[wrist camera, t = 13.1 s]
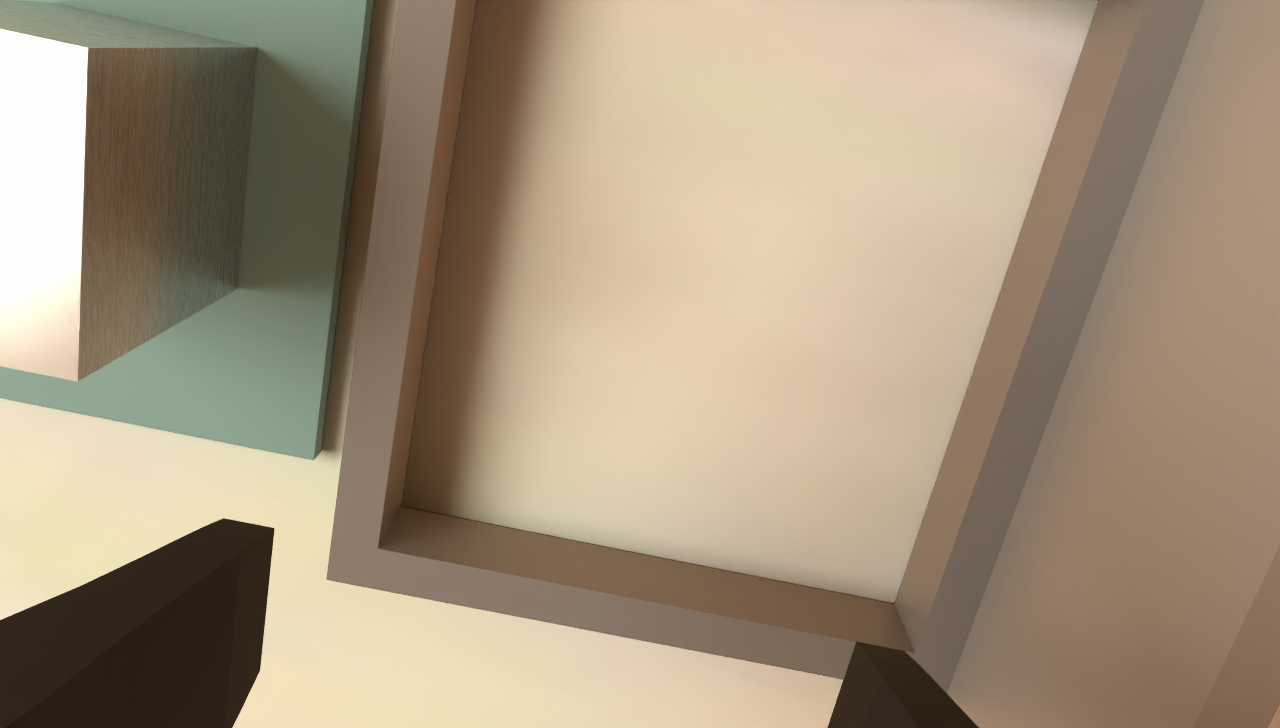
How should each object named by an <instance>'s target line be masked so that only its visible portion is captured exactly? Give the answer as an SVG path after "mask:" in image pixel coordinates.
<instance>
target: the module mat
mask: <svg viewBox="0 0 1280 728" xmlns="http://www.w3.org/2000/svg"><path fill="white" fill-rule="evenodd" d="M22 1H37V2H51V3H57V4H62V5H66V6H71V7H75V8H80V9H84V10H89V11H94V12H98V13H103V14H107V15H112V16H117V17H121V18H126V19H130V20H135V21H140V22H144V23H149V24H153V25H158V26H162V27H167V28H172V29H176V30H181V31H185V32H190V33H195V34H199V35H204V36H208V37H213V38H218V39H222V40H227V41H231V42H236V43H240V44H245V45H250V46H254V47H258V49H257V61H256V74H255V86H254V98H253V110H252V122H251V134H250V147H249V159H248V171H247V183H246V195H245V207H244V219H243V232H242V244H241V256H240V268H239V280H238V289H237V290H235V291H233V292H231V293H230V294H228V295H226V296H224V297H223V298H221V299H219V300H218V301H216V302H214V303H212V304H211V305H209V306H207V307H206V308H204V309H202V310H200V311H199V312H197V313H195V314H193V315H192V316H190V317H188V318H187V319H185V320H183V321H181V322H180V323H178V324H176V325H174V326H173V327H171V328H169V329H168V330H166V331H164V332H162V333H161V334H159V335H157V336H156V337H154V338H152V339H150V340H149V341H147V342H145V343H143V344H142V345H140V346H138V347H137V348H135V349H133V350H131V351H130V352H128V353H126V354H125V355H123V356H121V357H119V358H118V359H116V360H114V361H112V362H111V363H109V364H107V365H106V366H104V367H102V368H100V369H99V370H97V371H95V372H93V373H92V374H90V375H88V376H87V377H85V378H83V379H81V380H80V381H78V382H77V381H72V380H67V379H62V378H57V377H52V376H47V375H42V374H37V373H32V372H27V371H22V370H17V369H12V368H7V367H2V366H0V398H3V399H8V400H13V401H18V402H23V403H28V404H33V405H38V406H43V407H48V408H53V409H58V410H63V411H68V412H73V413H78V414H83V415H88V416H94V417H99V418H104V419H109V420H114V421H119V422H124V423H129V424H134V425H139V426H144V427H149V428H154V429H159V430H164V431H169V432H174V433H179V434H184V435H189V436H194V437H199V438H204V439H209V440H214V441H219V442H224V443H229V444H234V445H239V446H244V447H249V448H254V449H260V450H265V451H270V452H275V453H280V454H285V455H290V456H295V457H300V458H305V459H310V460H314V459H315V458H316V457H317V455H318V454H319V453H320V452H321V446H322V438H323V429H324V421H325V412H326V404H327V395H328V387H329V378H330V370H331V361H332V353H333V344H334V336H335V327H336V319H337V310H338V302H339V293H340V285H341V276H342V268H343V259H344V251H345V242H346V234H347V225H348V217H349V208H350V200H351V191H352V183H353V174H354V166H355V157H356V149H357V140H358V132H359V123H360V115H361V106H362V98H363V89H364V81H365V72H366V64H367V55H368V47H369V38H370V30H371V21H372V13H373V4H374V0H22Z"/></svg>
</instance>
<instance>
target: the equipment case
mask: <svg viewBox="0 0 1280 728" xmlns="http://www.w3.org/2000/svg"><path fill="white" fill-rule="evenodd" d="M475 7H476V0H399V5H398V13H397V21H396V29H395V37H394V45H393V53H392V61H391V69H390V77H389V85H388V93H387V101H386V109H385V117H384V125H383V133H382V141H381V149H380V157H379V165H378V173H377V181H376V189H375V197H374V205H373V213H372V221H371V229H370V237H369V245H368V253H367V261H366V269H365V277H364V285H363V293H362V300H361V308H360V316H359V324H358V332H357V340H356V348H355V356H354V364H353V372H352V380H351V388H350V396H349V404H348V412H347V420H346V428H345V436H344V444H343V452H342V460H341V468H340V476H339V484H338V492H337V500H336V508H335V516H334V524H333V532H332V540H331V548H330V556H329V564H328V572H327V580H331V581H336V582H341V583H346V584H351V585H357V586H362V587H367V588H372V589H377V590H382V591H388V592H393V593H398V594H403V595H408V596H414V597H419V598H424V599H429V600H434V601H440V602H445V603H450V604H455V605H460V606H465V607H471V608H476V609H481V610H486V611H491V612H497V613H502V614H507V615H512V616H517V617H522V618H528V619H533V620H538V621H543V622H548V623H554V624H559V625H564V626H569V627H574V628H580V629H585V630H590V631H595V632H600V633H605V634H611V635H616V636H621V637H626V638H631V639H637V640H642V641H647V642H652V643H657V644H663V645H668V646H673V647H678V648H683V649H688V650H694V651H699V652H704V653H709V654H714V655H720V656H725V657H730V658H735V659H740V660H745V661H751V662H756V663H761V664H766V665H771V666H777V667H782V668H787V669H792V670H797V671H803V672H808V673H813V674H818V675H823V676H828V677H834V678H839V679H844V677H845V674H846V671H847V668H848V665H849V662H850V659H851V656H852V653H853V650H854V647H855V644H856V641H857V642H862V643H867V644H872V645H877V646H882V647H888V648H893V649H898V650H903V651H905V652H906V653H907V654H908V655H909V656H911V657H912V658H913V659H914V660H915V661H916V662H917V663H918V664H919V665H920V666H921V667H922V668H923V669H924V670H925V671H926V672H927V673H928V674H929V675H930V676H931V677H932V678H933V679H934V680H935V681H936V683H937V684H938V685H939V686H940V687H941V688H942V689H943V690H944V691H945V692H946V693H947V694H948V695H949V696H950V697H951V698H952V699H953V701H954V702H955V703H956V704H957V705H958V706H959V707H960V708H961V709H962V710H963V711H964V712H965V713H966V714H967V716H968V717H969V718H970V719H971V720H972V721H973V722H974V723H975V724H976V725H977V726H978V727H979V728H1268V726H1269V724H1270V722H1271V720H1272V718H1273V716H1274V714H1275V712H1276V710H1277V708H1278V706H1279V704H1280V0H1099V2H1098V5H1097V8H1096V11H1095V14H1094V17H1093V20H1092V23H1091V26H1090V29H1089V32H1088V34H1087V37H1086V40H1085V43H1084V46H1083V49H1082V52H1081V55H1080V58H1079V61H1078V64H1077V67H1076V70H1075V73H1074V76H1073V79H1072V82H1071V85H1070V88H1069V90H1068V93H1067V96H1066V99H1065V102H1064V105H1063V108H1062V111H1061V114H1060V117H1059V120H1058V123H1057V126H1056V129H1055V132H1054V135H1053V138H1052V141H1051V144H1050V146H1049V149H1048V152H1047V155H1046V158H1045V161H1044V164H1043V167H1042V170H1041V173H1040V176H1039V179H1038V182H1037V185H1036V188H1035V191H1034V194H1033V197H1032V200H1031V203H1030V205H1029V208H1028V211H1027V214H1026V217H1025V220H1024V223H1023V226H1022V229H1021V232H1020V235H1019V238H1018V241H1017V244H1016V247H1015V250H1014V253H1013V256H1012V259H1011V261H1010V264H1009V267H1008V270H1007V273H1006V276H1005V279H1004V282H1003V285H1002V288H1001V291H1000V294H999V297H998V300H997V303H996V306H995V309H994V312H993V315H992V317H991V320H990V323H989V326H988V329H987V332H986V335H985V338H984V341H983V344H982V347H981V350H980V353H979V356H978V359H977V362H976V365H975V368H974V371H973V373H972V376H971V379H970V382H969V385H968V388H967V391H966V394H965V397H964V400H963V403H962V406H961V409H960V412H959V415H958V418H957V421H956V424H955V427H954V430H953V432H952V435H951V438H950V441H949V444H948V447H947V450H946V453H945V456H944V459H943V462H942V465H941V468H940V471H939V474H938V477H937V480H936V483H935V486H934V488H933V491H932V494H931V497H930V500H929V503H928V506H927V509H926V512H925V515H924V518H923V521H922V524H921V527H920V530H919V533H918V536H917V539H916V542H915V544H914V547H913V550H912V553H911V556H910V559H909V562H908V565H907V568H906V571H905V574H904V577H903V580H902V583H901V586H900V589H899V592H898V595H897V598H896V601H895V603H894V604H892V603H887V602H882V601H877V600H872V599H867V598H862V597H856V596H851V595H846V594H841V593H836V592H831V591H826V590H821V589H816V588H811V587H806V586H801V585H796V584H791V583H786V582H780V581H775V580H770V579H765V578H760V577H755V576H750V575H745V574H740V573H735V572H730V571H725V570H720V569H715V568H709V567H704V566H699V565H694V564H689V563H684V562H679V561H674V560H669V559H664V558H659V557H654V556H649V555H644V554H639V553H633V552H628V551H623V550H618V549H613V548H608V547H603V546H598V545H593V544H588V543H583V542H578V541H573V540H568V539H562V538H557V537H552V536H547V535H542V534H537V533H532V532H527V531H522V530H517V529H512V528H507V527H502V526H497V525H492V524H486V523H481V522H476V521H471V520H466V519H461V518H456V517H451V516H446V515H441V514H436V513H431V512H426V511H421V510H416V509H410V508H405V507H401V504H402V497H403V490H404V483H405V477H406V470H407V463H408V457H409V450H410V443H411V436H412V430H413V423H414V416H415V410H416V403H417V396H418V390H419V383H420V376H421V369H422V363H423V356H424V349H425V343H426V336H427V329H428V322H429V316H430V309H431V302H432V296H433V289H434V282H435V275H436V269H437V262H438V255H439V249H440V242H441V235H442V228H443V222H444V215H445V208H446V202H447V195H448V188H449V181H450V175H451V168H452V161H453V155H454V148H455V141H456V135H457V128H458V121H459V114H460V108H461V101H462V94H463V88H464V81H465V74H466V67H467V61H468V54H469V47H470V41H471V34H472V27H473V20H474V14H475Z"/></svg>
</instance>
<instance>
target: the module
mask: <svg viewBox="0 0 1280 728" xmlns="http://www.w3.org/2000/svg"><path fill="white" fill-rule="evenodd" d="M257 49H258V47H254V46H250V45H245V44H240V43H236V42H231V41H227V40H222V39H218V38H213V37H208V36H204V35H199V34H195V33H190V32H185V31H181V30H176V29H172V28H167V27H162V26H158V25H153V24H149V23H144V22H140V21H135V20H130V19H126V18H121V17H117V16H112V15H107V14H103V13H98V12H94V11H89V10H84V9H80V8H75V7H71V6H66V5H62V4H57V3H51V2H37V1H22V0H0V366H2V367H7V368H12V369H17V370H22V371H27V372H32V373H37V374H42V375H47V376H52V377H57V378H62V379H67V380H72V381H77V382H78V381H80V380H81V379H83V378H85V377H87V376H88V375H90V374H92V373H93V372H95V371H97V370H99V369H100V368H102V367H104V366H106V365H107V364H109V363H111V362H112V361H114V360H116V359H118V358H119V357H121V356H123V355H125V354H126V353H128V352H130V351H131V350H133V349H135V348H137V347H138V346H140V345H142V344H143V343H145V342H147V341H149V340H150V339H152V338H154V337H156V336H157V335H159V334H161V333H162V332H164V331H166V330H168V329H169V328H171V327H173V326H174V325H176V324H178V323H180V322H181V321H183V320H185V319H187V318H188V317H190V316H192V315H193V314H195V313H197V312H199V311H200V310H202V309H204V308H206V307H207V306H209V305H211V304H212V303H214V302H216V301H218V300H219V299H221V298H223V297H224V296H226V295H228V294H230V293H231V292H233V291H235V290H237V289H238V280H239V268H240V256H241V244H242V232H243V219H244V207H245V195H246V183H247V171H248V159H249V147H250V134H251V122H252V110H253V98H254V86H255V74H256V61H257Z"/></svg>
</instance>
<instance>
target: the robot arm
mask: <svg viewBox="0 0 1280 728" xmlns="http://www.w3.org/2000/svg"><path fill="white" fill-rule="evenodd" d="M273 537H274V528H270V527H265V526H260V525H255V524H250V523H245V522H239V521H234V520H229V519H221V520H219V521H216V522H214V523H211V524H209V525H207V526H205V527H203V528H200V529H198V530H196V531H194V532H192V533H190V534H188V535H186V536H184V537H182V538H180V539H178V540H175V541H173V542H171V543H169V544H167V545H165V546H163V547H161V548H159V549H157V550H155V551H153V552H151V553H149V554H147V555H145V556H143V557H141V558H139V559H137V560H134V561H132V562H130V563H128V564H126V565H124V566H122V567H120V568H118V569H116V570H113V571H111V572H109V573H107V574H105V575H103V576H101V577H99V578H97V579H95V580H92V581H90V582H88V583H86V584H84V585H82V586H80V587H77V588H75V589H73V590H70V591H68V592H66V593H63V594H61V595H59V596H56V597H54V598H51V599H49V600H47V601H44V602H42V603H40V604H37V605H35V606H33V607H30V608H28V609H26V610H23V611H21V612H19V613H16V614H14V615H12V616H9V617H7V618H4V619H2V620H0V728H232V727H233V725H234V723H235V721H236V719H237V717H238V715H239V713H240V711H241V709H242V707H243V705H244V703H245V701H246V699H247V696H248V694H249V692H250V690H251V688H252V686H253V684H254V682H255V680H256V678H257V675H258V673H259V671H260V665H261V655H262V645H263V635H264V625H265V616H266V606H267V596H268V586H269V576H270V566H271V556H272V546H273ZM828 728H979V727H978V726H977V725H976V724H975V723H974V722H973V721H972V720H971V719H970V718H969V717H968V716H967V714H966V713H965V712H964V711H963V710H962V709H961V708H960V707H959V706H958V705H957V704H956V703H955V702H954V701H953V699H952V698H951V697H950V696H949V695H948V694H947V693H946V692H945V691H944V690H943V689H942V688H941V687H940V686H939V685H938V684H937V683H936V681H935V680H934V679H933V678H932V677H931V676H930V675H929V674H928V673H927V672H926V671H925V670H924V669H923V668H922V667H921V666H920V665H919V664H918V663H917V662H916V661H915V660H914V659H913V658H912V657H911V656H909V655H908V654H907V653H906V652H905V651H903V650H898V649H893V648H888V647H882V646H877V645H872V644H867V643H862V642H857V641H856V644H855V647H854V650H853V653H852V656H851V659H850V662H849V665H848V668H847V671H846V674H845V677H844V680H843V683H842V686H841V689H840V692H839V695H838V698H837V701H836V704H835V707H834V710H833V713H832V716H831V719H830V722H829V725H828Z"/></svg>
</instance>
